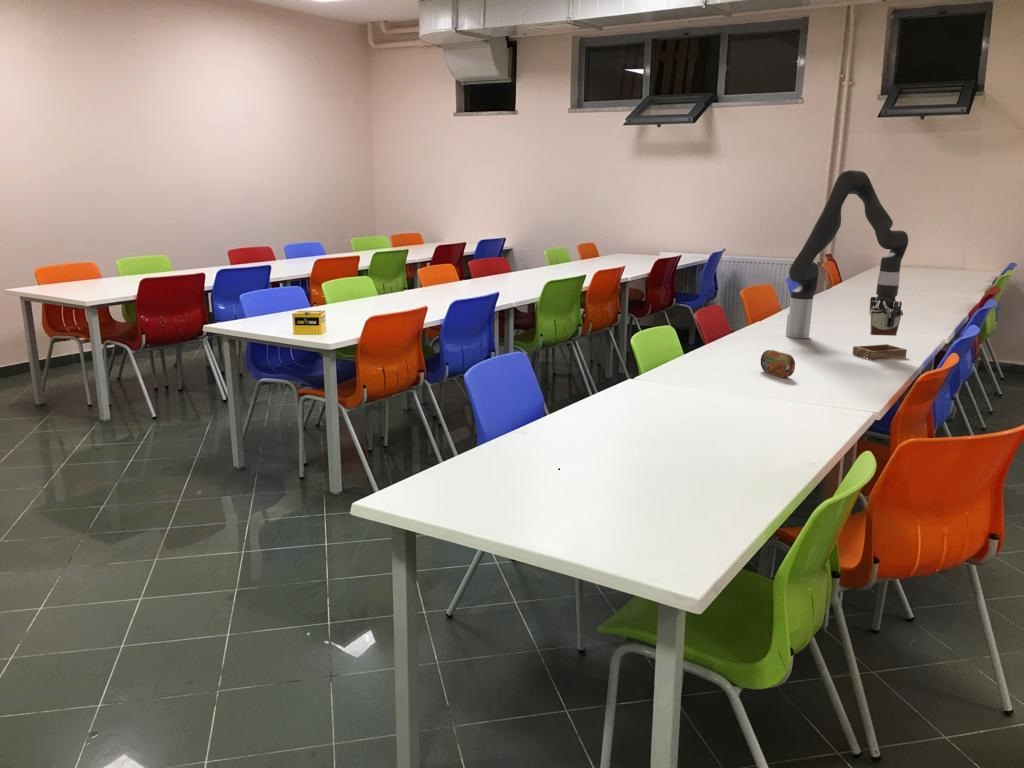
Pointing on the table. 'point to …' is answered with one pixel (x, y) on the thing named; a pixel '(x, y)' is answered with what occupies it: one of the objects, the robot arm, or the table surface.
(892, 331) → the food container
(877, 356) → the holder
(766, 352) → the tin
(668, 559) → the table surface
